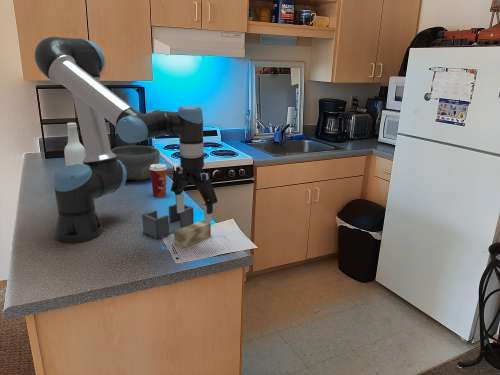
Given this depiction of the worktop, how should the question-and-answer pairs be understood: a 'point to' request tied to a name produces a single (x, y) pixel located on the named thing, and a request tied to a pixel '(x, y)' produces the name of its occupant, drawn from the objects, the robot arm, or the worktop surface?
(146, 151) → the bowl
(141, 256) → the worktop surface
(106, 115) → the robot arm
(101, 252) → the worktop surface
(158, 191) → the paper cup
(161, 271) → the worktop surface
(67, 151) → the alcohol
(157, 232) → the end caps
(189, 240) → the beige mottled block
